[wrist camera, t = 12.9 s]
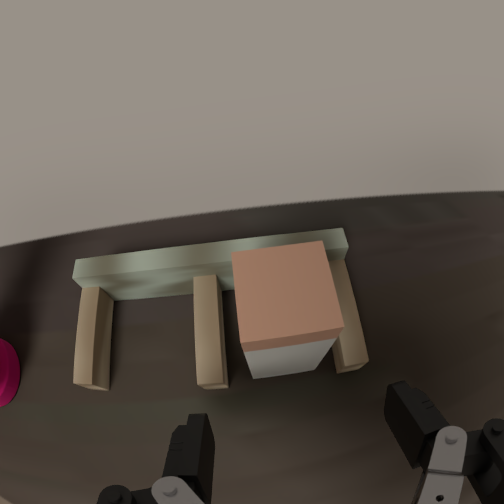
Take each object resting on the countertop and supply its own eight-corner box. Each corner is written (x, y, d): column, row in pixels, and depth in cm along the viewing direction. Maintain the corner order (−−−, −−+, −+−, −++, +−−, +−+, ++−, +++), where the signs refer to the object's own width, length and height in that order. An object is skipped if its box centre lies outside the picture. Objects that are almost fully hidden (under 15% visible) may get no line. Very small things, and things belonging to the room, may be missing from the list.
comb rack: (91, 389, 19) (60, 378, 15) (99, 285, 23) (75, 259, 20) (358, 369, 19) (376, 355, 15) (333, 259, 23) (342, 227, 20)
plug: (253, 379, 19) (240, 342, 11) (246, 322, 21) (231, 252, 14) (314, 369, 19) (344, 326, 12) (304, 313, 21) (322, 240, 14)
